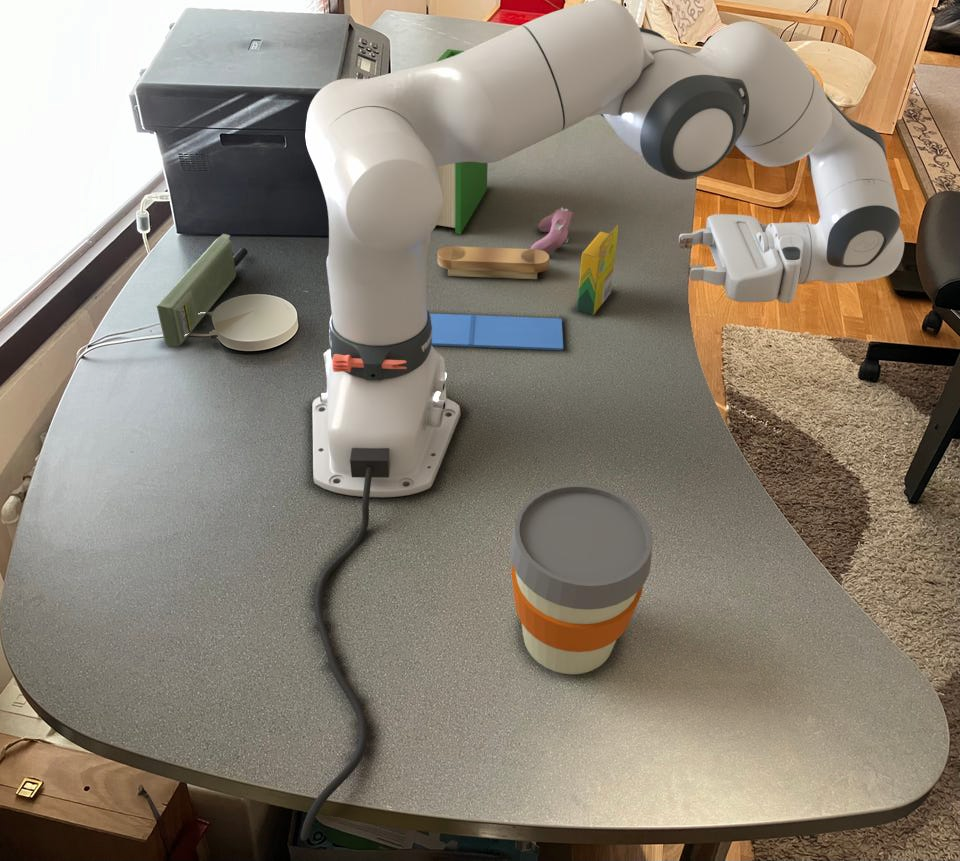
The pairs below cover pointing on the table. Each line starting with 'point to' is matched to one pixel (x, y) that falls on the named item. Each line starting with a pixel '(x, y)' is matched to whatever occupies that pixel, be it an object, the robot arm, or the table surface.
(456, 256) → the scrub brush
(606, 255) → the crayon box
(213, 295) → the handheld radio
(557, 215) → the video game controller
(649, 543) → the reusable coffee cup
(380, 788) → the table surface
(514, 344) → the blue cloth
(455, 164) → the hardback book
